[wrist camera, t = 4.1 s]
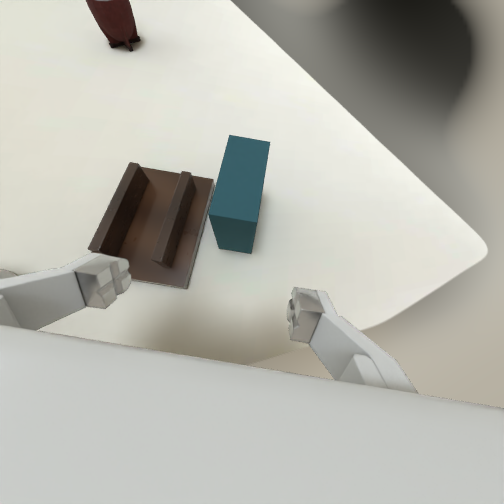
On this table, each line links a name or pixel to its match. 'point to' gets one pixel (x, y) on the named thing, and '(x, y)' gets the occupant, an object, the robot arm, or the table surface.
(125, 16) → the mate gourd
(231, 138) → the back pad
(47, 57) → the table surface
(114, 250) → the board
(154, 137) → the table surface
